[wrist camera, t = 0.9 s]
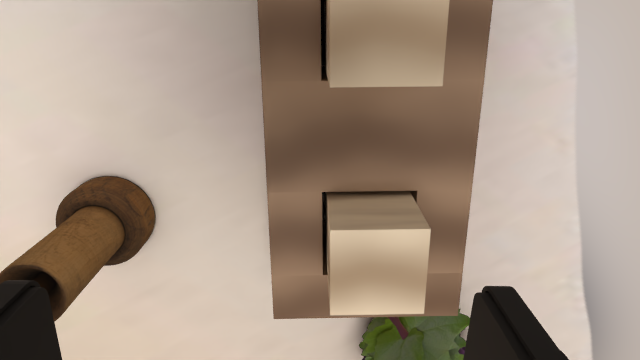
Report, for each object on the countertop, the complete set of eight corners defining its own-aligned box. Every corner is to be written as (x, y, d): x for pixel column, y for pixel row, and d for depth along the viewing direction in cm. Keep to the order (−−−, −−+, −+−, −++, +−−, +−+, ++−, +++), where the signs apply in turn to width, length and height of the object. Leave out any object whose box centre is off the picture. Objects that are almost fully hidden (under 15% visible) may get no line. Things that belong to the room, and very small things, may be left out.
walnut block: (267, -76, 29) (251, -108, 21) (455, -77, 29) (505, -109, 22) (281, 257, 37) (273, 318, 30) (428, 255, 37) (457, 315, 30)
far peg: (325, 176, 30) (330, 230, 23) (401, 175, 30) (430, 228, 23) (325, 244, 32) (330, 315, 24) (397, 243, 32) (423, 313, 24)
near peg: (324, -22, 26) (329, -38, 18) (411, -23, 26) (452, -39, 19) (325, 68, 28) (329, 87, 20) (407, 67, 28) (442, 86, 20)
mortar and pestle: (108, 158, 34) (-92, 298, 17) (173, 217, 36) (48, 398, 19) (52, 211, 35) (-185, 391, 19) (117, 266, 37) (-46, 476, 20)
